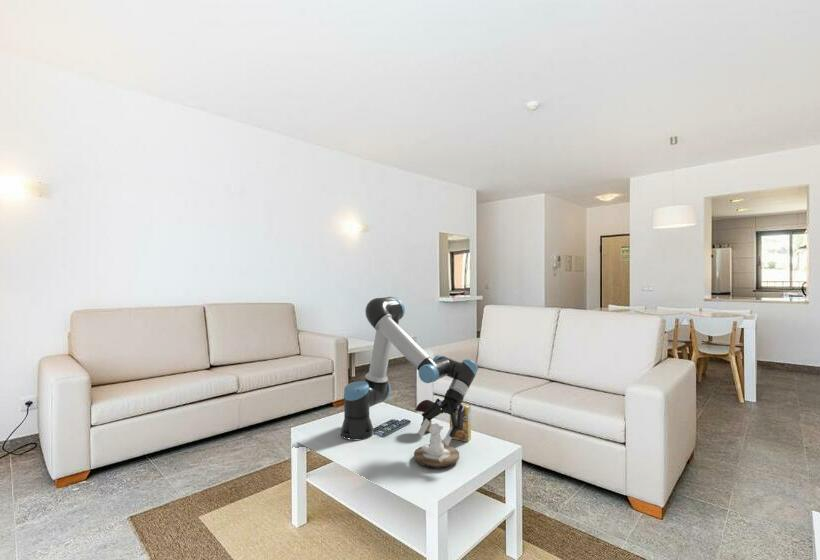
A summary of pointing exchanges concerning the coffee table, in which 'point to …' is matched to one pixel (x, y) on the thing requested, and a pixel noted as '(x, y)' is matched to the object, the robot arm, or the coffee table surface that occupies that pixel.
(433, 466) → the turntable base
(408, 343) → the robot arm
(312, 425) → the coffee table surface
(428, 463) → the turntable platter
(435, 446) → the sitting furry creature
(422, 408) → the decorative mushroom
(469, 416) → the candy box
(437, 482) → the coffee table surface
